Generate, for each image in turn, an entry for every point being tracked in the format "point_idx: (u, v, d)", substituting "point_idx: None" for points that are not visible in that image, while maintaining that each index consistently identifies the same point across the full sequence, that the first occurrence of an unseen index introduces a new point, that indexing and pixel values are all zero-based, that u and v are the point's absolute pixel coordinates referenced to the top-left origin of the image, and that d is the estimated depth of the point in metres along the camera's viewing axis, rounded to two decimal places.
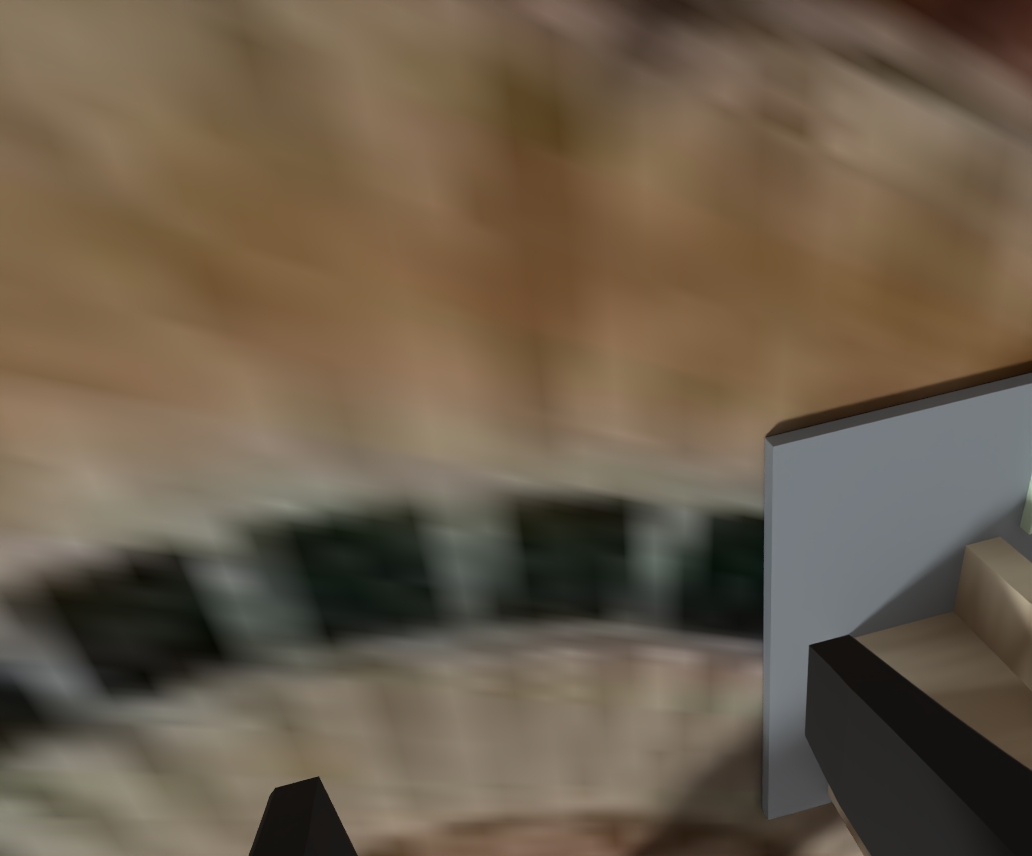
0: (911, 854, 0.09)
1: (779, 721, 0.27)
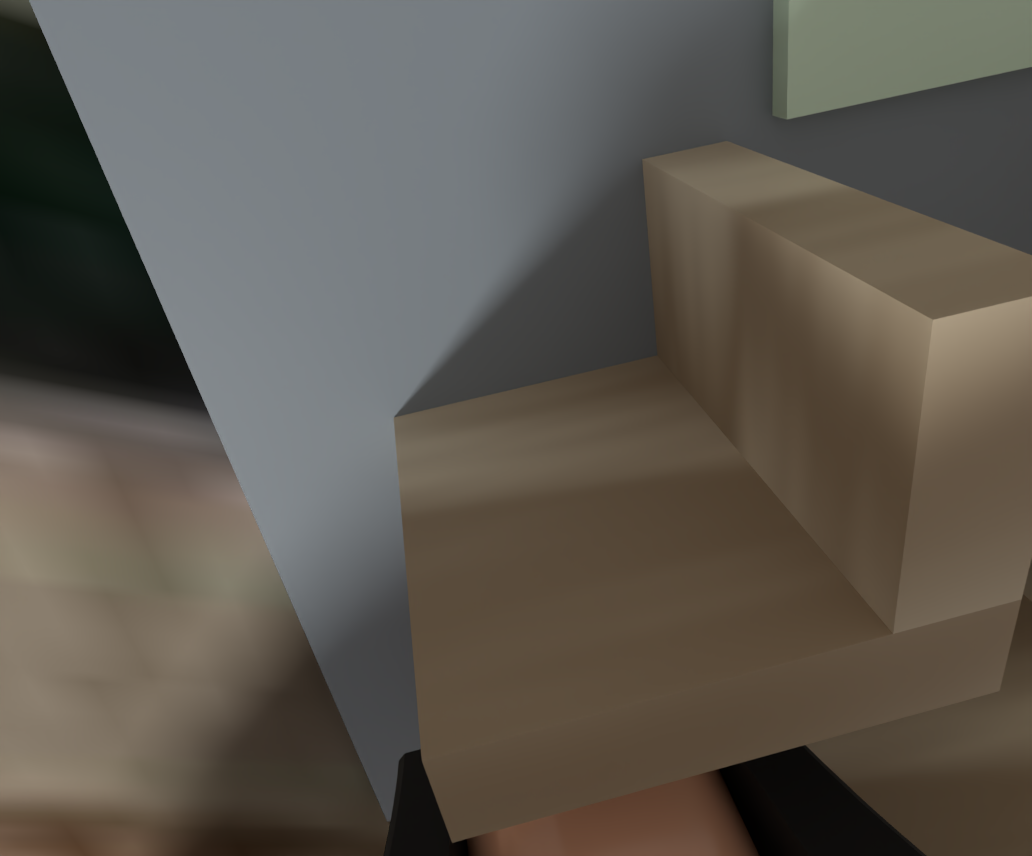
0: None
1: (320, 613, 0.13)
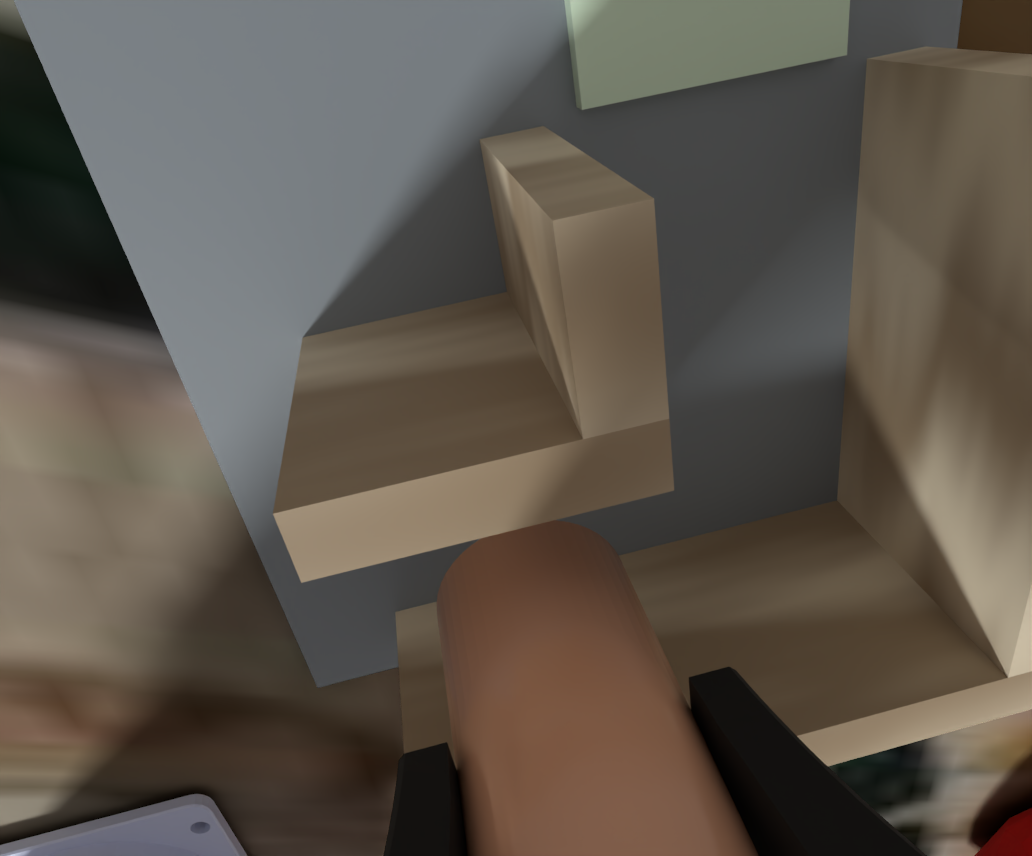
0: None
1: (253, 498, 0.16)
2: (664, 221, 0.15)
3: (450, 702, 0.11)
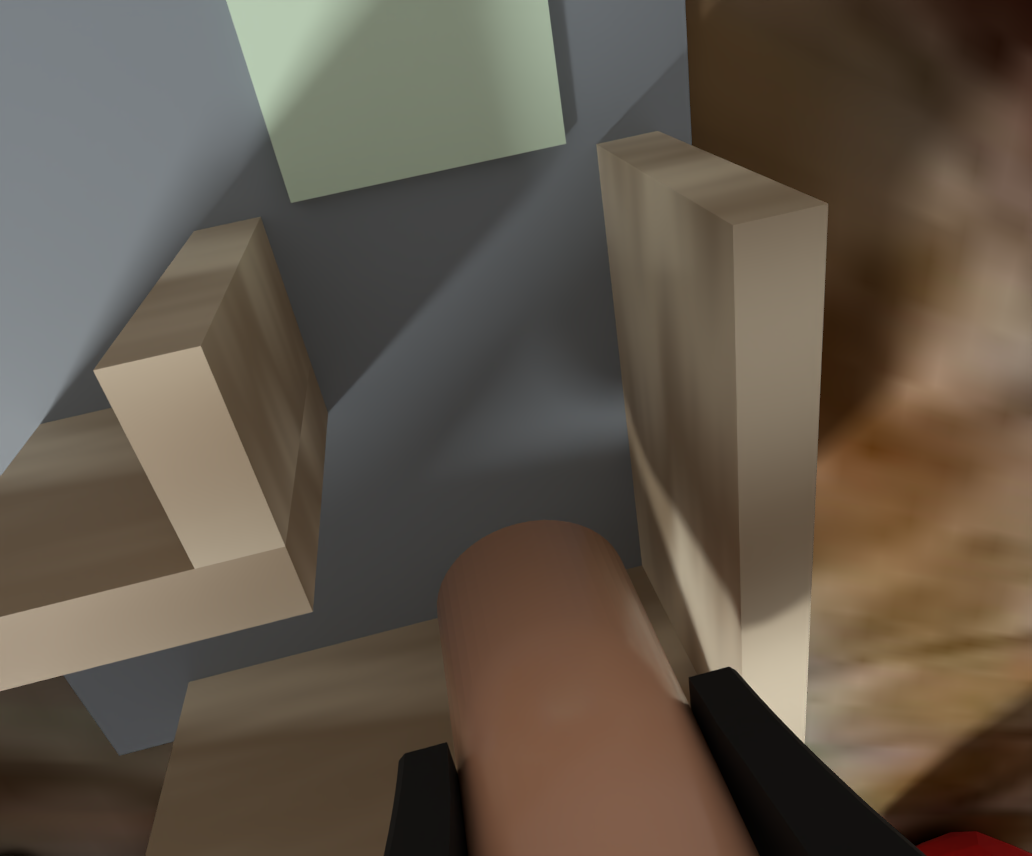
0: None
1: None
2: (408, 304, 0.15)
3: (451, 702, 0.11)
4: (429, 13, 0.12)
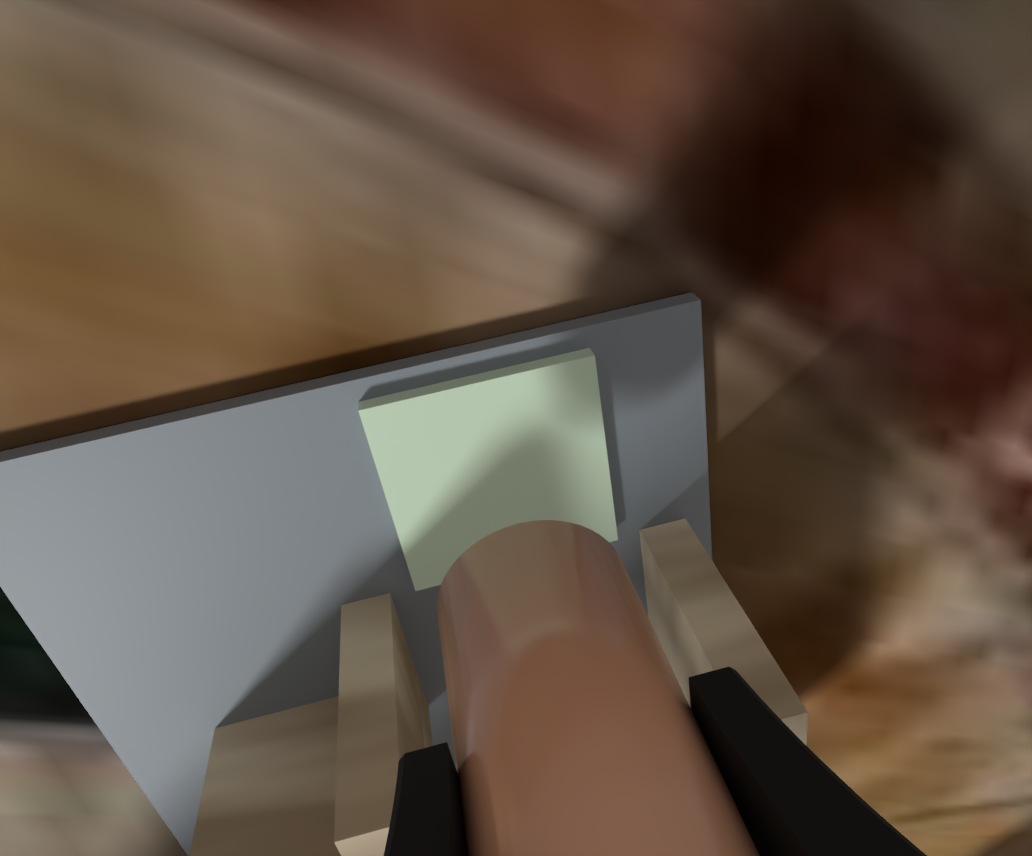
0: None
1: (183, 825, 0.21)
2: None
3: (451, 702, 0.11)
4: (523, 478, 0.17)
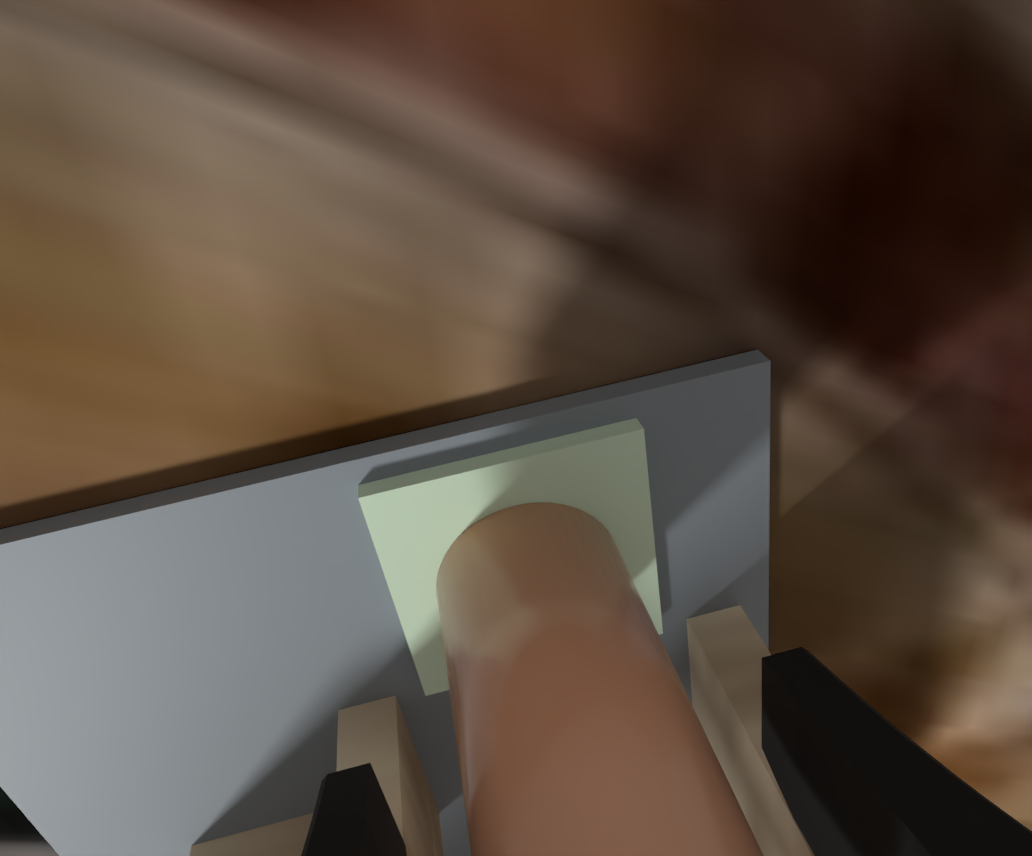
0: None
1: None
2: None
3: (450, 676, 0.12)
4: None
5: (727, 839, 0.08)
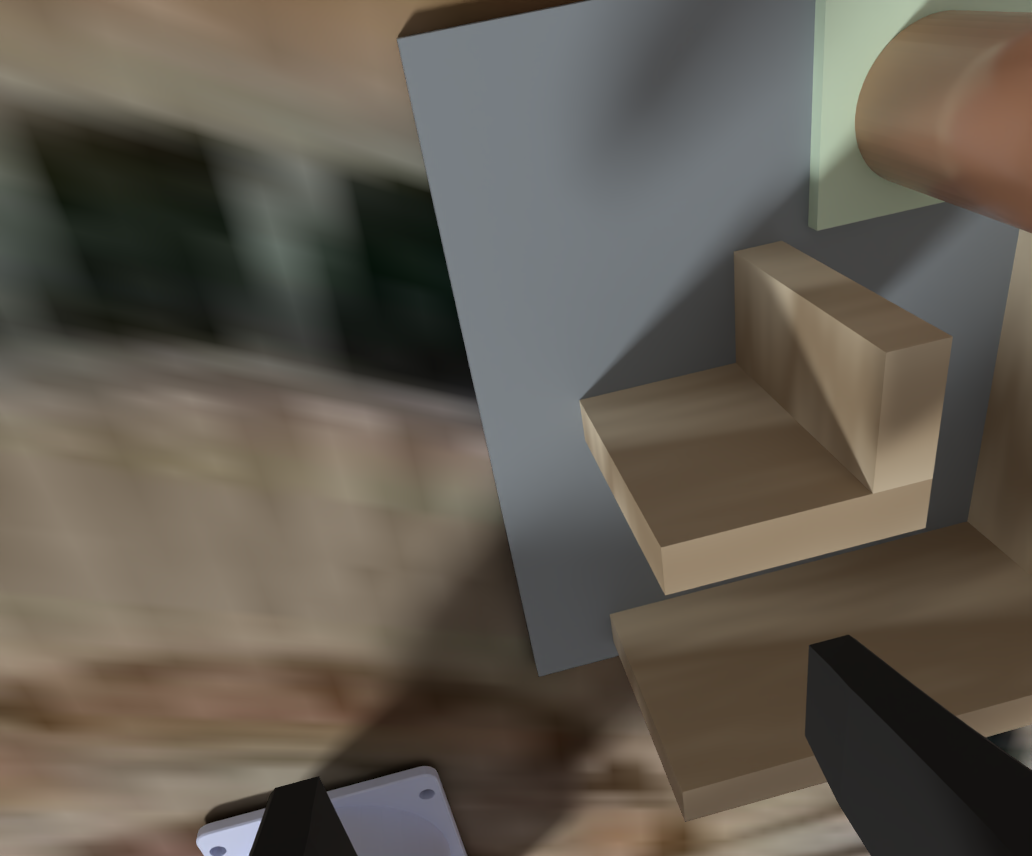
0: (911, 854, 0.09)
1: (519, 524, 0.21)
2: None
3: (930, 101, 0.14)
4: None
5: None
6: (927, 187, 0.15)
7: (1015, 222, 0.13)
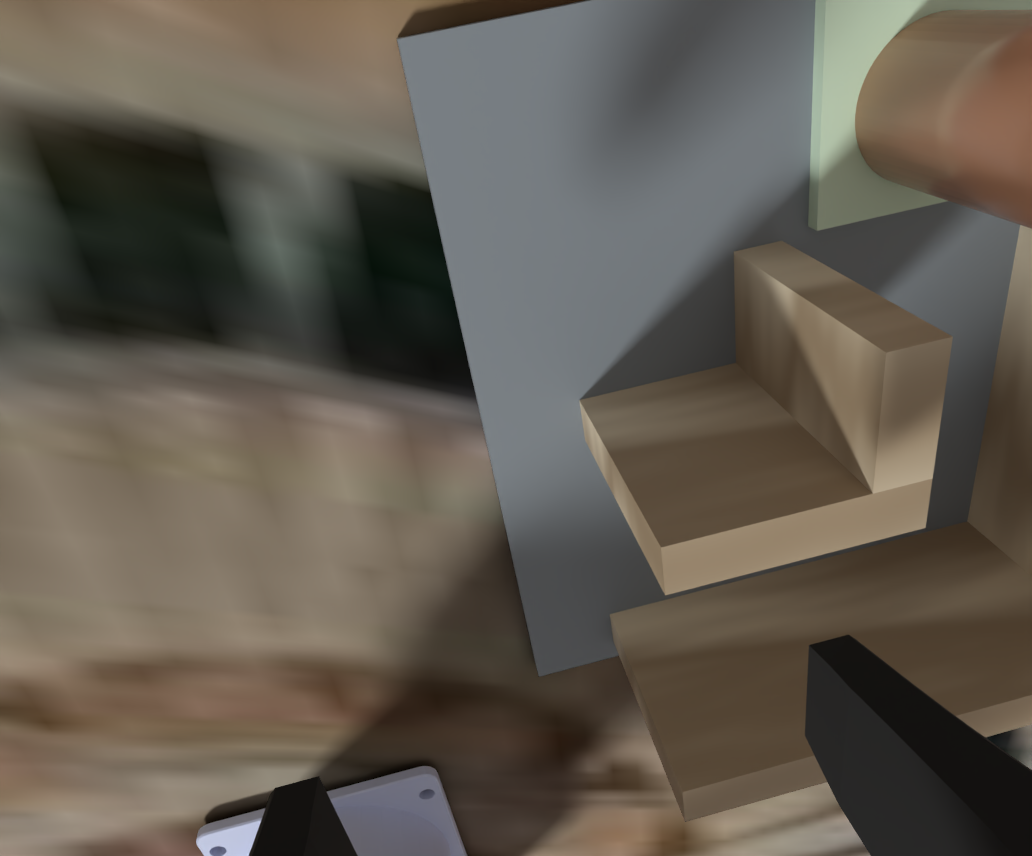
0: (911, 854, 0.09)
1: (519, 524, 0.21)
2: None
3: (930, 96, 0.14)
4: None
5: None
6: (927, 184, 0.15)
7: (1015, 216, 0.13)
